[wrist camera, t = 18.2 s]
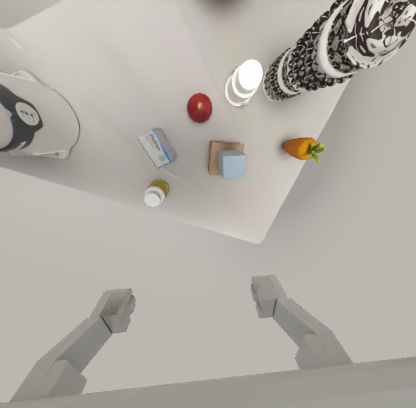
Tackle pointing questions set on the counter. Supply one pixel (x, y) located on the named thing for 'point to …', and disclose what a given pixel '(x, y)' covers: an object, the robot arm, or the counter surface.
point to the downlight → (243, 83)
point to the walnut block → (214, 154)
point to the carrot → (304, 148)
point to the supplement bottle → (156, 193)
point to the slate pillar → (231, 164)
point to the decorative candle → (340, 46)
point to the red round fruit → (199, 107)
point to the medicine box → (157, 147)
